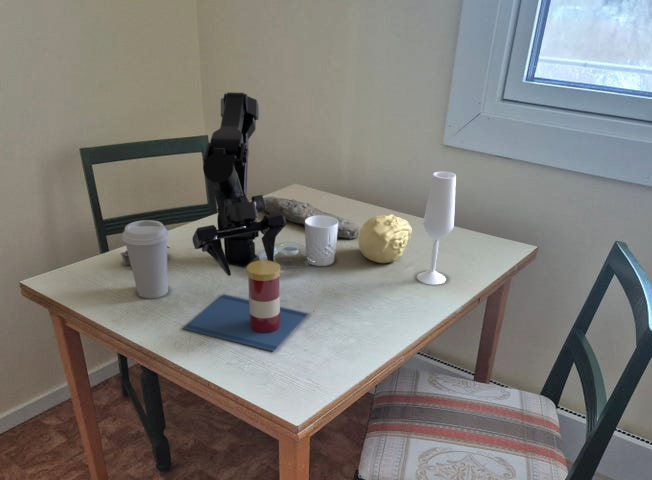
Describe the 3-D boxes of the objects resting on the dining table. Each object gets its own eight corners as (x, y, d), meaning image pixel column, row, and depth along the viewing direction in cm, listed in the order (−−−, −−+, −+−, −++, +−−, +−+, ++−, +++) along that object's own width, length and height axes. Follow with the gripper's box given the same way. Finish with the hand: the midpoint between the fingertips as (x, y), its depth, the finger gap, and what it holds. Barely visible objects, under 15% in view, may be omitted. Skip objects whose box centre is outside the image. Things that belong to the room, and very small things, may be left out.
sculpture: (383, 272, 151) (387, 228, 145) (348, 256, 158) (350, 214, 152) (415, 259, 157) (420, 217, 151) (379, 244, 165) (383, 203, 159)
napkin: (183, 329, 128) (183, 327, 128) (223, 295, 140) (223, 294, 140) (273, 351, 121) (273, 350, 121) (307, 314, 133) (307, 313, 133)
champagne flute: (440, 287, 145) (455, 181, 131) (412, 280, 147) (423, 176, 134) (450, 275, 149) (465, 173, 136) (422, 269, 152) (434, 168, 139)
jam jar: (243, 329, 127) (240, 270, 120) (258, 315, 132) (256, 258, 125) (272, 336, 125) (271, 277, 118) (286, 321, 130) (285, 263, 123)
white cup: (333, 268, 152) (335, 228, 147) (301, 265, 153) (301, 225, 148) (339, 255, 159) (340, 216, 153) (307, 252, 160) (308, 214, 154)
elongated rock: (344, 249, 165) (368, 240, 171) (347, 229, 162) (370, 221, 169) (249, 209, 183) (274, 202, 190) (250, 191, 180) (275, 185, 187)
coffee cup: (182, 286, 144) (176, 222, 136) (161, 304, 136) (152, 238, 128) (145, 279, 146) (136, 216, 138) (122, 297, 139) (111, 232, 131)
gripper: (191, 189, 120) (214, 269, 119) (283, 174, 126) (305, 250, 126) (183, 211, 130) (204, 284, 130) (268, 196, 137) (288, 265, 136)
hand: (251, 270), depth 130 cm, fingers open, 9 cm apart
